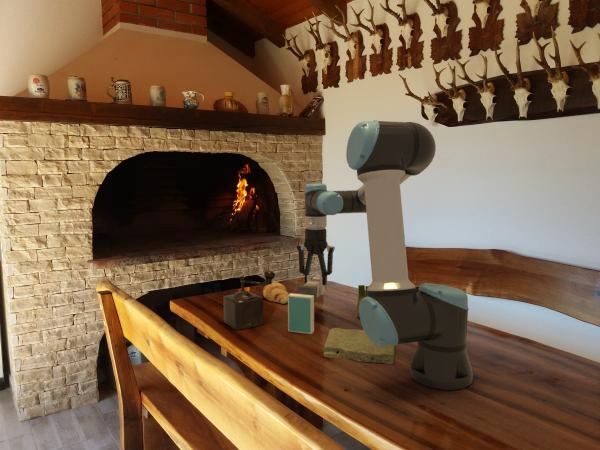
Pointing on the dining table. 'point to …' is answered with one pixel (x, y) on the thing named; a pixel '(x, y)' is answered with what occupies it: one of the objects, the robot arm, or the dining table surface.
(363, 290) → the fennel bulb
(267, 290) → the croissant
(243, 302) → the dark brown crank device
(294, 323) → the cream flat block
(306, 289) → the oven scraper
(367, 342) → the decorative tile
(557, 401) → the dining table surface
